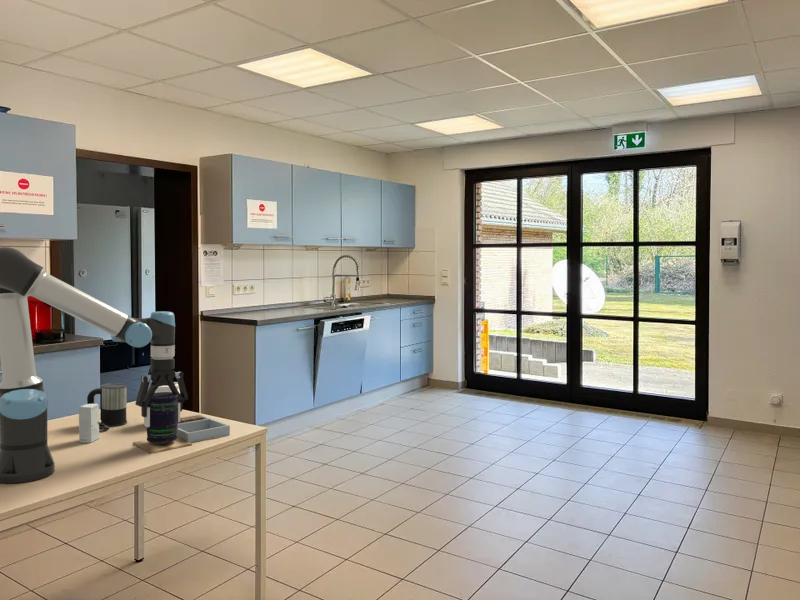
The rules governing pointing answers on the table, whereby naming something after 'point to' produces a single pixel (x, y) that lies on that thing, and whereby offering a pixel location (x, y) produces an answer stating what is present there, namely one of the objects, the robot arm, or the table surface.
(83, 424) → the skincare box
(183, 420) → the block
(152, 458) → the table surface
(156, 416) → the rusty oil drum
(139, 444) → the mat
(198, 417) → the block
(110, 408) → the milk frother
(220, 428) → the tray
